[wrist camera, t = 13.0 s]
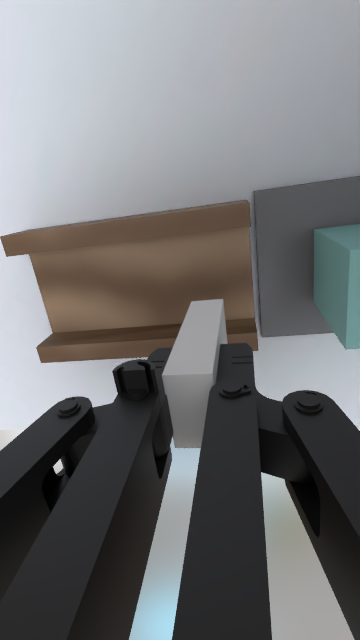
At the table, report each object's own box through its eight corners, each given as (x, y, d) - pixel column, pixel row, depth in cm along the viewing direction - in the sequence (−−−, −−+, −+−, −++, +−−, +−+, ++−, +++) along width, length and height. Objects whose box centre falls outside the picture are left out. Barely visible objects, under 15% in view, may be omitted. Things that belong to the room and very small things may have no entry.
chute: (27, 229, 26) (0, 236, 23) (246, 199, 23) (249, 202, 20) (61, 343, 30) (41, 362, 27) (255, 330, 27) (258, 350, 24)
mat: (253, 191, 23) (253, 191, 23) (414, 168, 21) (416, 168, 21) (261, 335, 27) (262, 337, 27) (397, 326, 25) (399, 328, 25)
